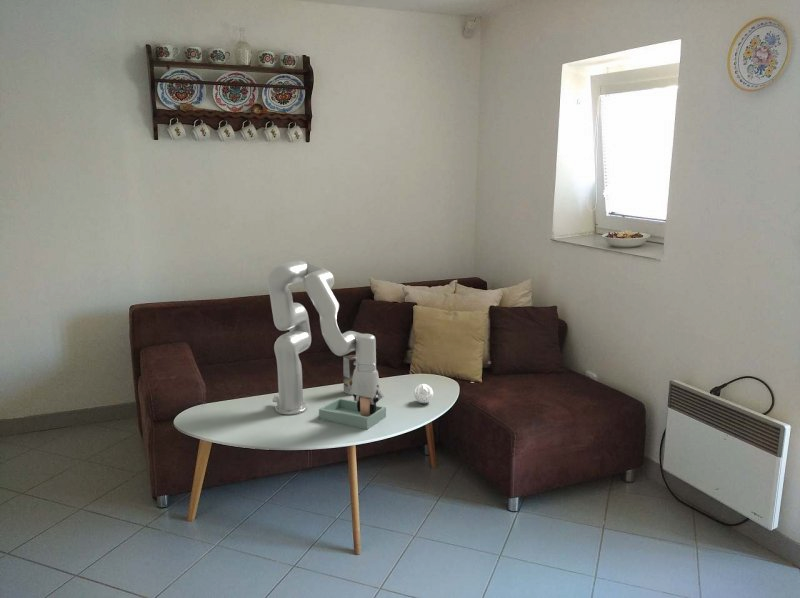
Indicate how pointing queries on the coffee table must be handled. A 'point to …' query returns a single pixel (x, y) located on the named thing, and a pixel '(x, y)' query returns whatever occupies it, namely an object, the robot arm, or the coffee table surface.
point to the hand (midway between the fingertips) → (366, 411)
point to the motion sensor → (423, 393)
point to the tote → (350, 414)
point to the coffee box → (348, 372)
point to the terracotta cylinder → (365, 406)
